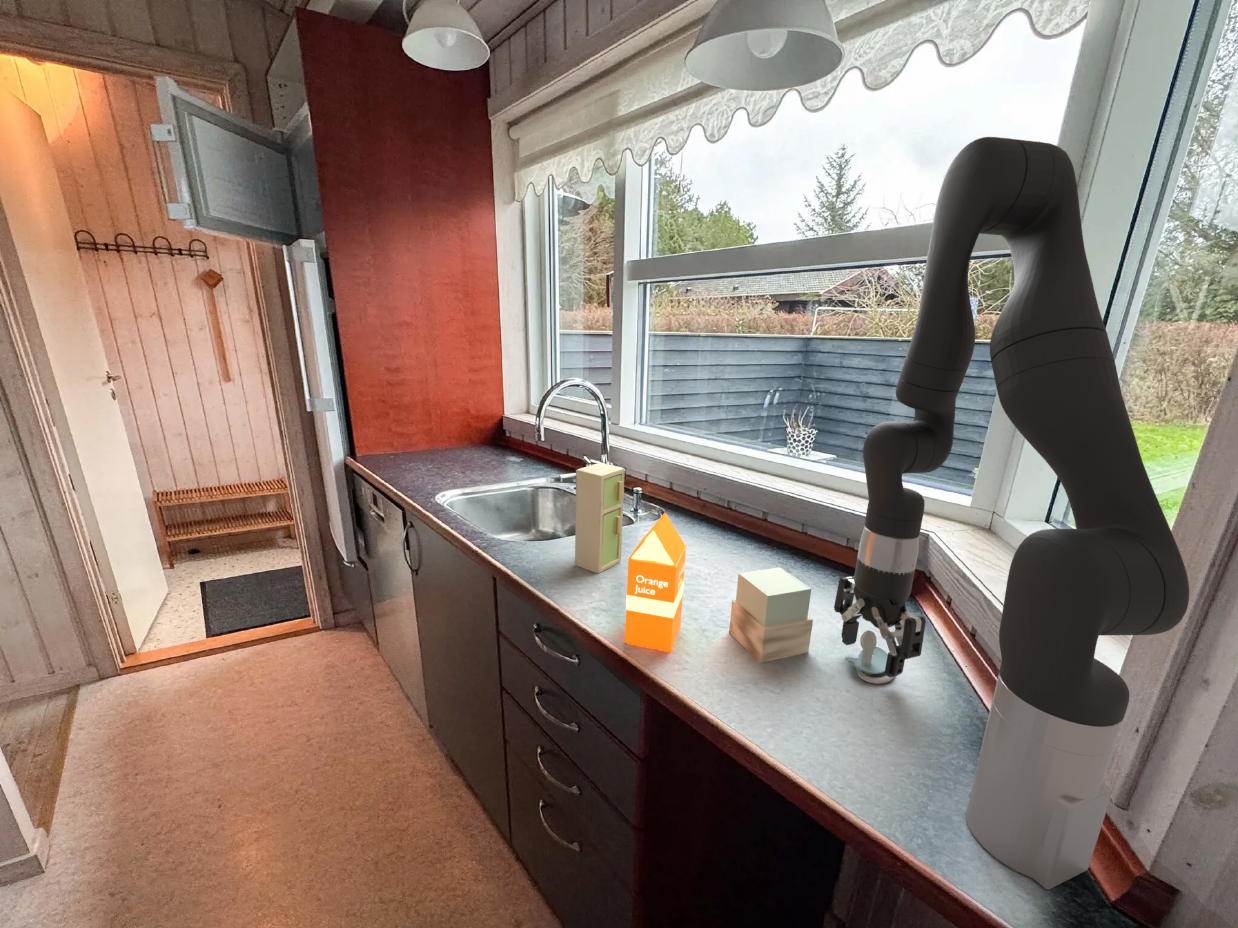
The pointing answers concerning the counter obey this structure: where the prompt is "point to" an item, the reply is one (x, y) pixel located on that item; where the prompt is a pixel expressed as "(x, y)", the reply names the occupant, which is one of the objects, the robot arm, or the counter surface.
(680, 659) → the counter surface
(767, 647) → the maple block
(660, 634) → the orange juice
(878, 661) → the pacifier
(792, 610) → the sage block
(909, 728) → the counter surface
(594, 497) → the toy refrigerator
